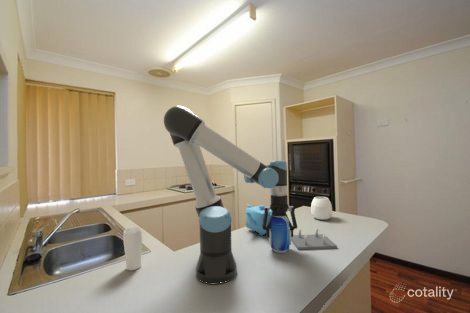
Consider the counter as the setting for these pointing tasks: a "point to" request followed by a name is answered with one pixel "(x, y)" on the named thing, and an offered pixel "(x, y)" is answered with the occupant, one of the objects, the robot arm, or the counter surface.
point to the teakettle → (256, 218)
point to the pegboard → (312, 241)
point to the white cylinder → (133, 247)
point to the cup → (321, 208)
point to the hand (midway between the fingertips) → (279, 244)
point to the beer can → (280, 234)
